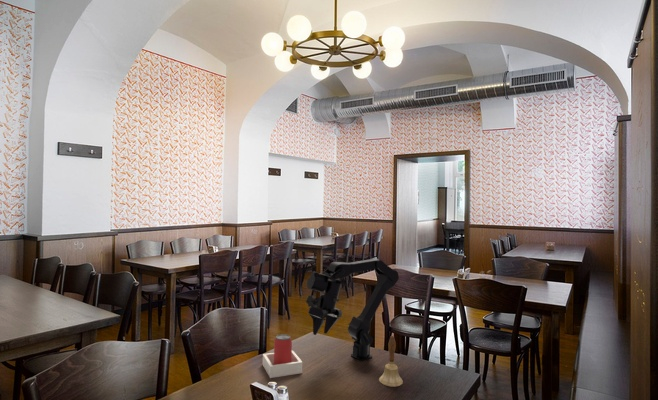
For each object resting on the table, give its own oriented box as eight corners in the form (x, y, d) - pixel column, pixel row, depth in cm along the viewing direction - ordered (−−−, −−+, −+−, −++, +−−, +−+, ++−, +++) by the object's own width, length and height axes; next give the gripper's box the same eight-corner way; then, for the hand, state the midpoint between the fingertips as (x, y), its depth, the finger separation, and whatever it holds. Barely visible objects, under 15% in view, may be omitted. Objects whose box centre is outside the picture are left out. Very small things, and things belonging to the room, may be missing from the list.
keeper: (292, 360, 151) (292, 350, 151) (302, 373, 140) (302, 362, 140) (262, 364, 147) (262, 354, 147) (270, 378, 136) (270, 366, 136)
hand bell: (407, 381, 136) (408, 336, 136) (394, 389, 130) (395, 342, 130) (387, 373, 141) (388, 330, 141) (374, 381, 135) (375, 335, 135)
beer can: (282, 374, 139) (283, 341, 139) (269, 369, 143) (270, 337, 143) (294, 368, 144) (295, 336, 144) (282, 363, 148) (282, 332, 148)
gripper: (323, 289, 162) (313, 326, 160) (302, 287, 146) (290, 328, 144) (347, 297, 157) (336, 335, 154) (327, 295, 140) (315, 338, 138)
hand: (320, 334), depth 148 cm, fingers open, 9 cm apart
